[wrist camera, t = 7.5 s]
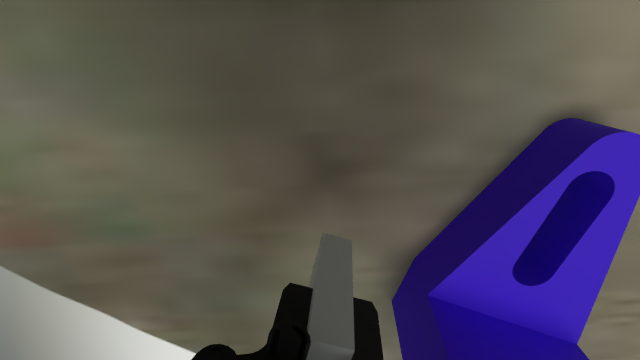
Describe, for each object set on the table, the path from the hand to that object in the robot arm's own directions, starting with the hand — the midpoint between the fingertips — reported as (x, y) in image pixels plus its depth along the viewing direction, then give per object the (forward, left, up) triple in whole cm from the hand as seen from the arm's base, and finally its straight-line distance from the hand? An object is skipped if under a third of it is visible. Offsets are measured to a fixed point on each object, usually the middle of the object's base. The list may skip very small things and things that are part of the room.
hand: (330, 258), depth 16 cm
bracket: (0, +13, -8) cm, 15 cm away
